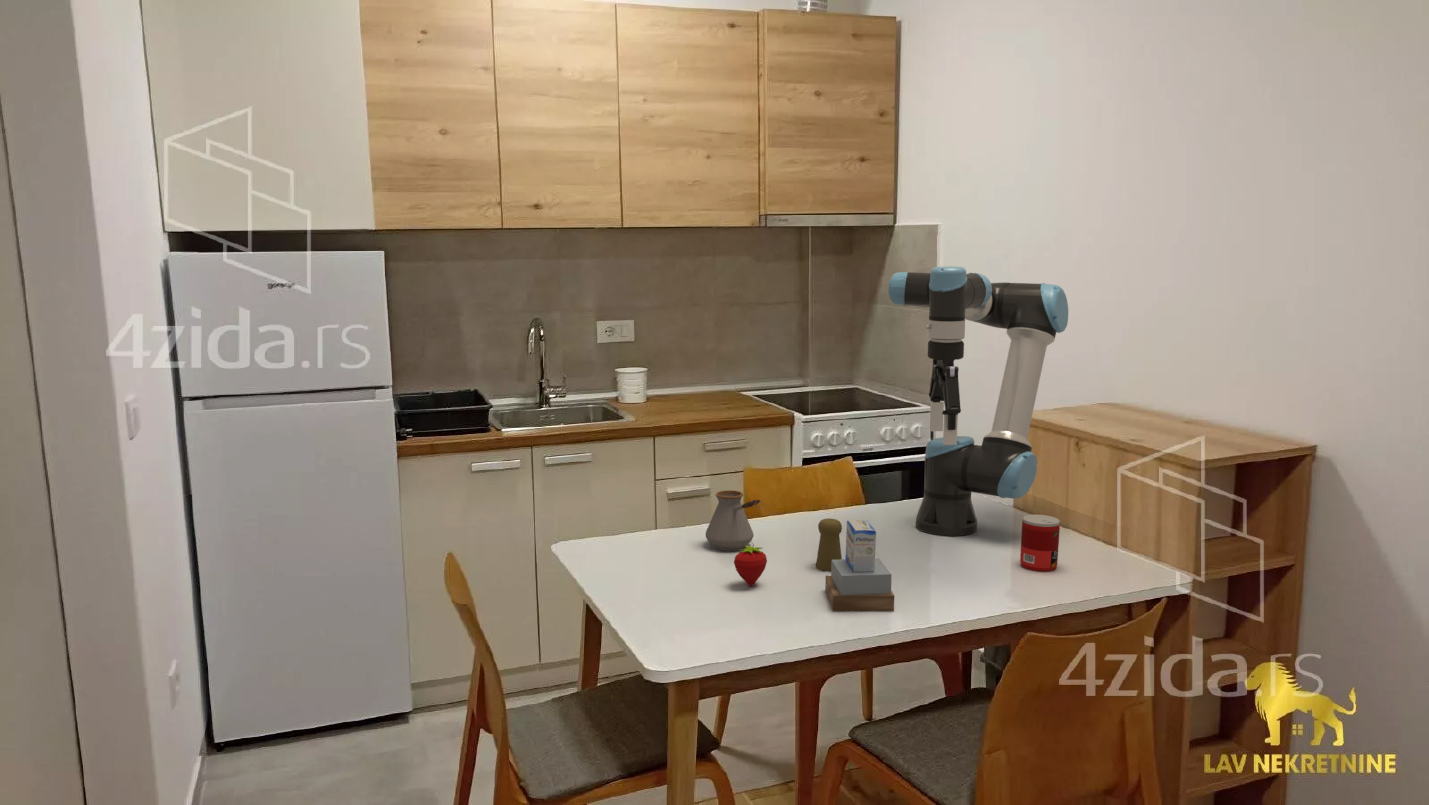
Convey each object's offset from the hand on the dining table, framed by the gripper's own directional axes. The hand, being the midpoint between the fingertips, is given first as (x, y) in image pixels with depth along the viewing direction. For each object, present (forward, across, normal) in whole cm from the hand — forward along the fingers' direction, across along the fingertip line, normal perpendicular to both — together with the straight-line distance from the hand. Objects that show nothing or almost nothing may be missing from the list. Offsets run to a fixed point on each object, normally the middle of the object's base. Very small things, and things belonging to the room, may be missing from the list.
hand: (942, 437), depth 221 cm
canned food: (+30, -3, +23) cm, 38 cm away
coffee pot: (+30, -12, -44) cm, 55 cm away
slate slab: (+26, +20, -20) cm, 38 cm away
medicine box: (+22, +19, -20) cm, 36 cm away
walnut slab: (+30, +19, -20) cm, 41 cm away
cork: (+30, -1, -24) cm, 38 cm away
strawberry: (+29, +11, -42) cm, 53 cm away
